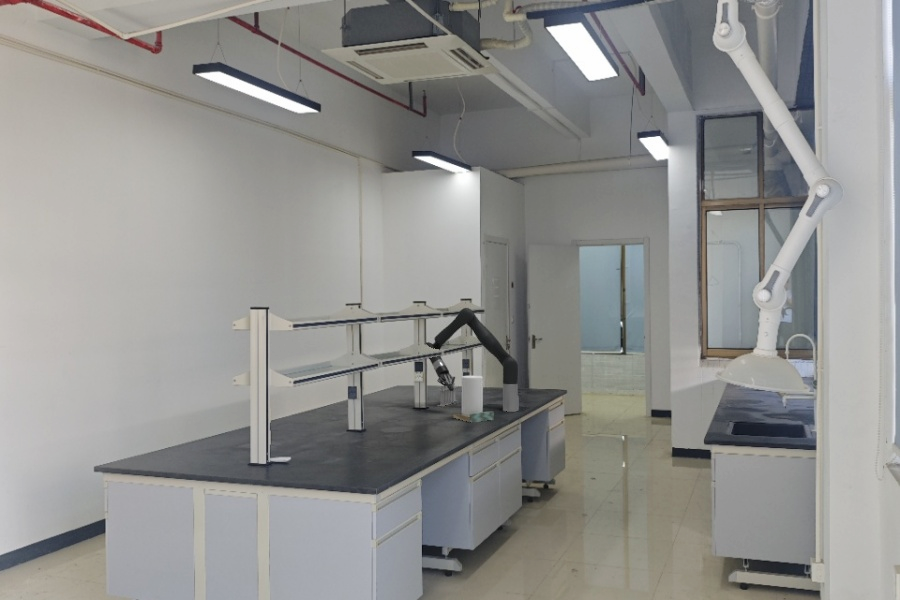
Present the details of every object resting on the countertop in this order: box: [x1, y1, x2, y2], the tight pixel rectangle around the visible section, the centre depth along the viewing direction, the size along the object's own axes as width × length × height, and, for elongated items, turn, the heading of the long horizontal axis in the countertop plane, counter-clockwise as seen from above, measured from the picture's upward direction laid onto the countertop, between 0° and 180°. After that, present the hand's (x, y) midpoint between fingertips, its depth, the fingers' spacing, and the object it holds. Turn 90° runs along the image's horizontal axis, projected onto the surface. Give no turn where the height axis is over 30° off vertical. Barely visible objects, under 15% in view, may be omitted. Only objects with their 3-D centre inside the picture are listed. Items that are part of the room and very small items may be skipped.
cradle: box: [453, 411, 495, 424], centre depth 458 cm, size 16×18×5 cm
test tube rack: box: [436, 382, 459, 407], centre depth 517 cm, size 25×4×13 cm, turn 156°
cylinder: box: [461, 375, 484, 417], centre depth 459 cm, size 12×12×25 cm
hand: (452, 390), depth 476 cm, fingers closed
